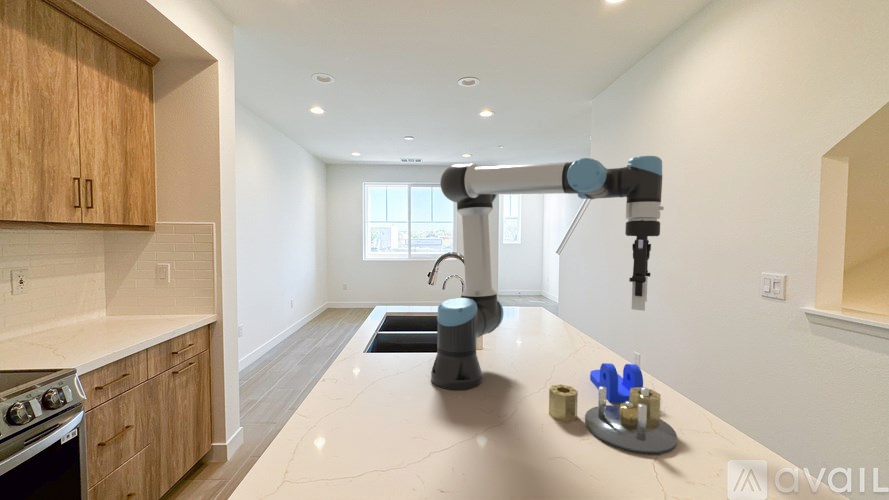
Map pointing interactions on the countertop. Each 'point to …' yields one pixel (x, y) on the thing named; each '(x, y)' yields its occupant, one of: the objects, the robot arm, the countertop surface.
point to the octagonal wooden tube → (563, 402)
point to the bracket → (617, 381)
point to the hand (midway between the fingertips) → (639, 305)
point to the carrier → (632, 423)
